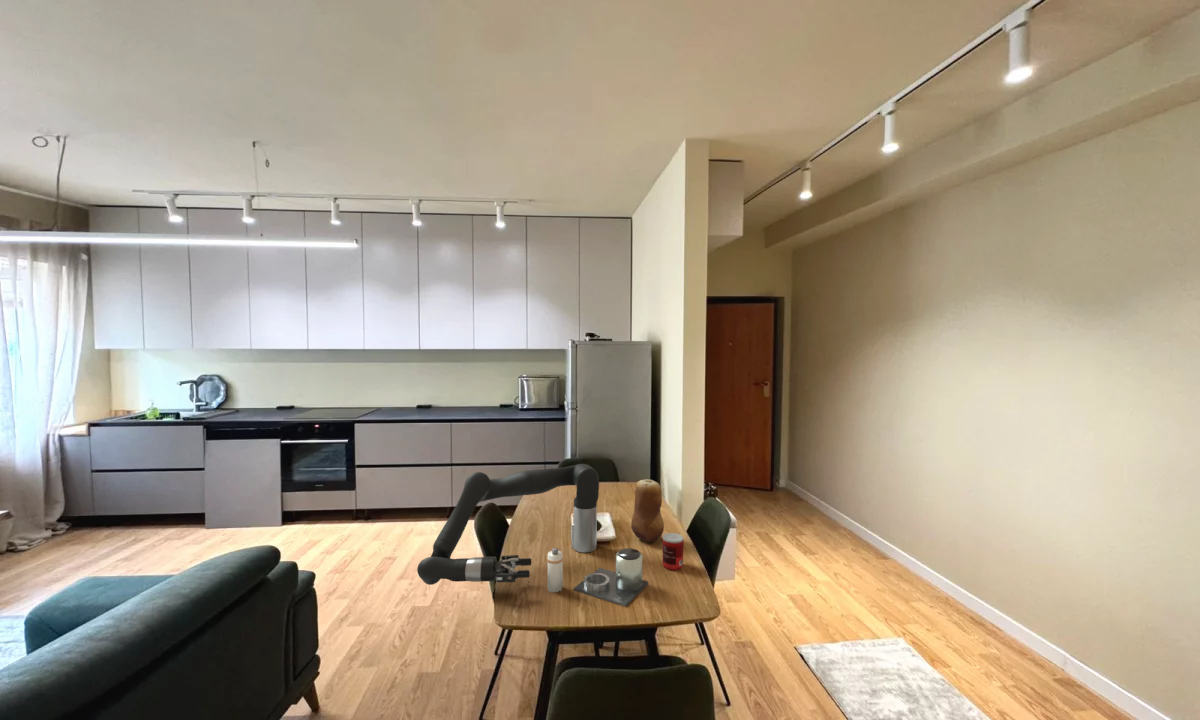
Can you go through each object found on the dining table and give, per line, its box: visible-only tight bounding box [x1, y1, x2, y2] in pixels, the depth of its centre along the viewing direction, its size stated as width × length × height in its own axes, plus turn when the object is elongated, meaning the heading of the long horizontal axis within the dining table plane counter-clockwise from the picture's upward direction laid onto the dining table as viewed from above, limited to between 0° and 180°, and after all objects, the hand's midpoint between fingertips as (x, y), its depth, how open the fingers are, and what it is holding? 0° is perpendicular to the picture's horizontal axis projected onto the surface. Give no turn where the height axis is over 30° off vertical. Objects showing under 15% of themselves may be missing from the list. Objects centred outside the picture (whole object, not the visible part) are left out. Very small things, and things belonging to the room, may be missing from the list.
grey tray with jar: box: [573, 548, 650, 608], centre depth 166 cm, size 20×17×12 cm
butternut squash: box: [630, 478, 665, 544], centre depth 205 cm, size 14×13×25 cm
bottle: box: [546, 547, 564, 593], centre depth 165 cm, size 5×5×14 cm
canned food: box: [662, 532, 685, 572], centre depth 182 cm, size 8×8×11 cm
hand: (530, 567), depth 164 cm, fingers open, 8 cm apart
